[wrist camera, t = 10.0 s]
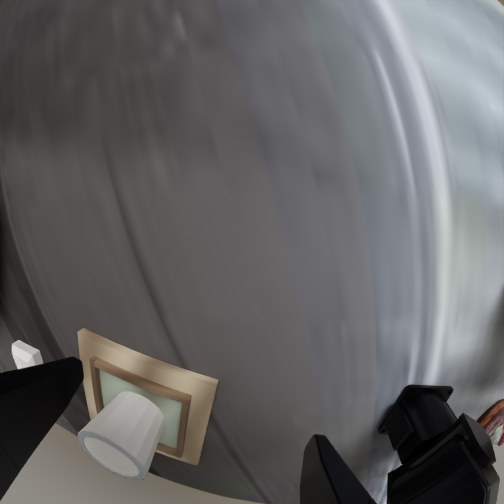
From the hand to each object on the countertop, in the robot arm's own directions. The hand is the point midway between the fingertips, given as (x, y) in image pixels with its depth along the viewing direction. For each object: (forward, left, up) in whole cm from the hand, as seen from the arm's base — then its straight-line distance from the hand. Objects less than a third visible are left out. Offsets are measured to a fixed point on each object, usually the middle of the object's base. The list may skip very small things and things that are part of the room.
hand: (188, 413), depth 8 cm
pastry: (-37, +11, -12) cm, 41 cm away
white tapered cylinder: (+7, +15, -11) cm, 20 cm away
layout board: (+7, +15, -12) cm, 20 cm away
